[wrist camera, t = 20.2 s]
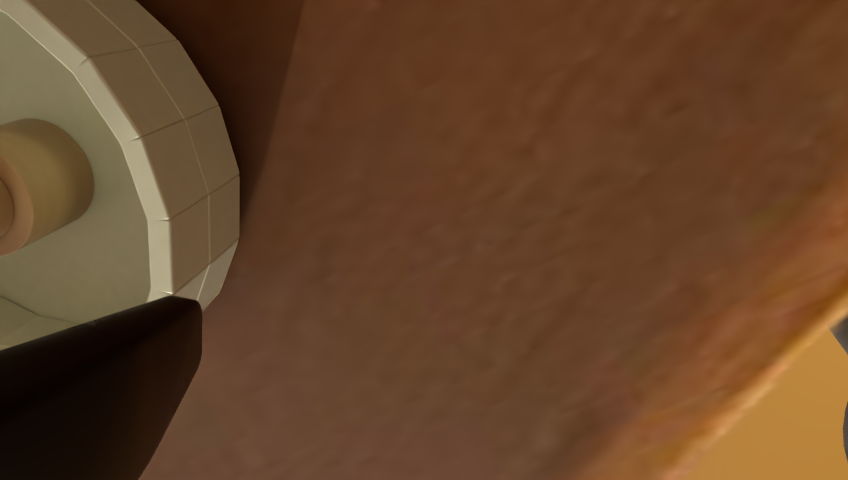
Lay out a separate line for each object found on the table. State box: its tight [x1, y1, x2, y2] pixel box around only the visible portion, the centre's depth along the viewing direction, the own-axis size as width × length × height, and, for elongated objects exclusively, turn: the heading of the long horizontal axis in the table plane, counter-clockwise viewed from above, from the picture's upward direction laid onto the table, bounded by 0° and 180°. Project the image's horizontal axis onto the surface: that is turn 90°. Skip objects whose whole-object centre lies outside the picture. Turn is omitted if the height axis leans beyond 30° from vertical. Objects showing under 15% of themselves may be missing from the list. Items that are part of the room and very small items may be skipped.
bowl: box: [0, 0, 240, 350], centre depth 22 cm, size 14×14×5 cm
